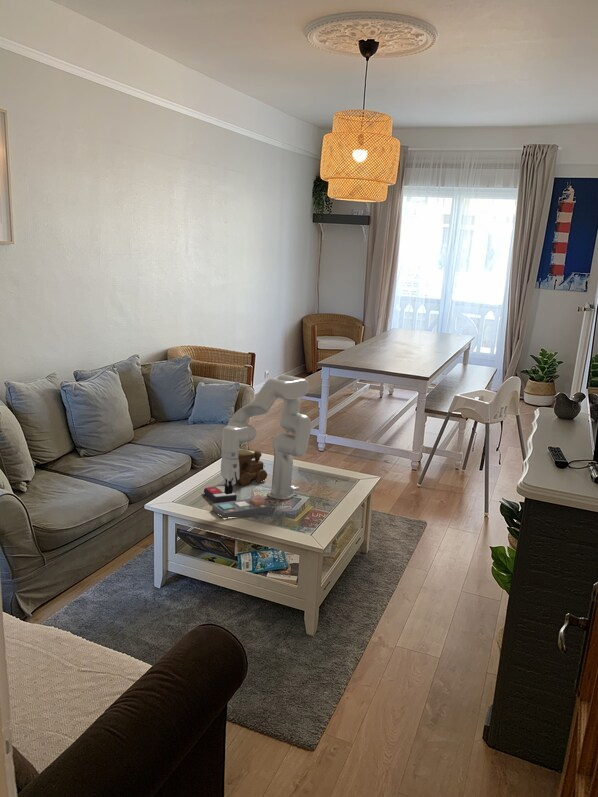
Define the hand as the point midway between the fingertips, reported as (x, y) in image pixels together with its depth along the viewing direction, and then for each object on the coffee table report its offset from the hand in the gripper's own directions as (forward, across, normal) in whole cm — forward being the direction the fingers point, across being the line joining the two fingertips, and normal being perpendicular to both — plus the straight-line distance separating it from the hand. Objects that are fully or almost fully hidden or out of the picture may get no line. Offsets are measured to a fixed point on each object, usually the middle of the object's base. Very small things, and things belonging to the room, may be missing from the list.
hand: (228, 493), depth 275 cm
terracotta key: (+8, 0, -15) cm, 17 cm away
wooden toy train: (+11, +36, -29) cm, 48 cm away
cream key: (+8, 0, -7) cm, 11 cm away
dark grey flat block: (+10, 0, -7) cm, 12 cm away
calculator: (+10, +19, -5) cm, 22 cm away
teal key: (+8, 0, +1) cm, 8 cm away
